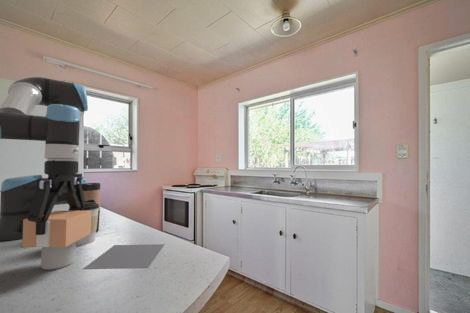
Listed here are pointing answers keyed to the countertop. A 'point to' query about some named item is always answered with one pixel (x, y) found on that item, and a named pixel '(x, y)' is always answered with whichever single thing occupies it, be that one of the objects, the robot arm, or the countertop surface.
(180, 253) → the countertop surface
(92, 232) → the coffee cup
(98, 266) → the mat
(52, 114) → the robot arm
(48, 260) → the white soda can
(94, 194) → the travel mug
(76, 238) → the orange block
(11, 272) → the countertop surface
